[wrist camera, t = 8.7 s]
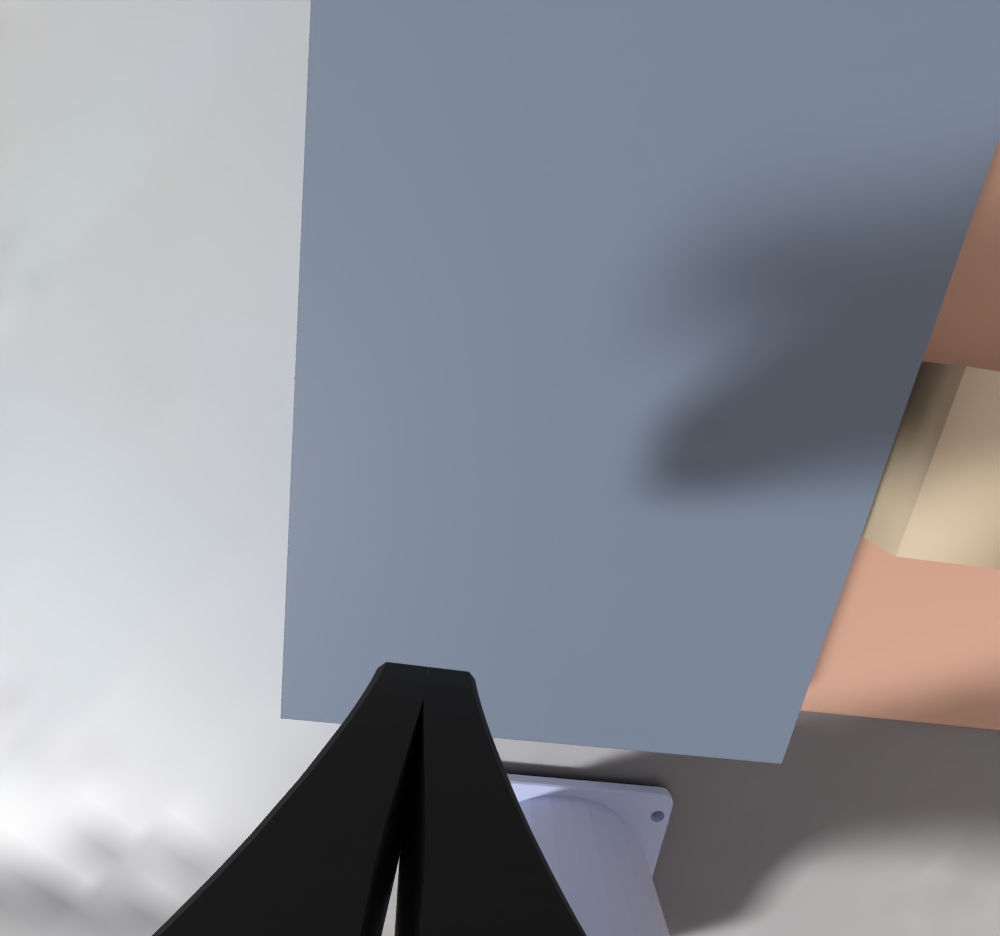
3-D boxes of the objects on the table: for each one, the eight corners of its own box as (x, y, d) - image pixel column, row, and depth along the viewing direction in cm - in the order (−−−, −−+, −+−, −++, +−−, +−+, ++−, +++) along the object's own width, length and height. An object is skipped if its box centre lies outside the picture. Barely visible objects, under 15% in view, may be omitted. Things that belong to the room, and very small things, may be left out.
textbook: (736, 696, 19) (781, 763, 17) (311, 654, 18) (280, 718, 15) (936, 50, 14) (1053, -18, 11) (354, -66, 13) (318, -174, 10)
